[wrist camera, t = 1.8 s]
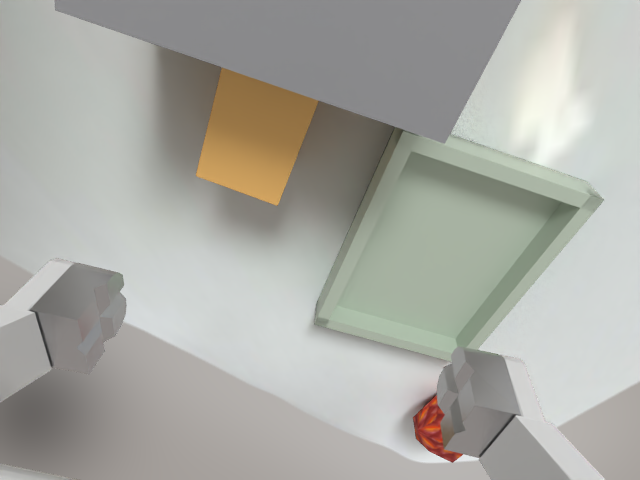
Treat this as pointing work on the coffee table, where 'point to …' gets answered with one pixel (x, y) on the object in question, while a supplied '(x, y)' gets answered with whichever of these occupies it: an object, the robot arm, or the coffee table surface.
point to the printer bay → (331, 48)
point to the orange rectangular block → (254, 136)
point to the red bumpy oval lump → (432, 430)
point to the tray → (448, 243)
